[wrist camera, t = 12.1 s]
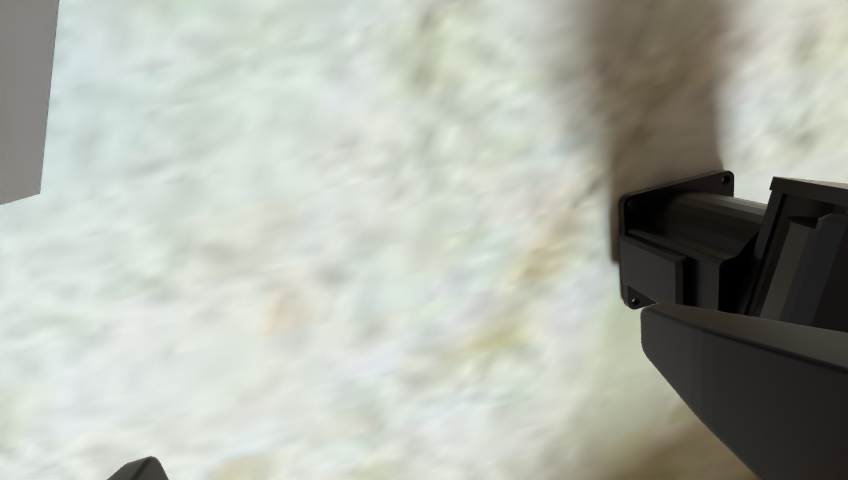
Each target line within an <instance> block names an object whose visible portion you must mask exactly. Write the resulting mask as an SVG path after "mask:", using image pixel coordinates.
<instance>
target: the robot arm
mask: <svg viewBox="0 0 848 480" xmlns="http://www.w3.org/2000/svg"><path fill="white" fill-rule="evenodd" d="M723 177H724V179H723ZM722 179H723V182H722ZM769 190H772V192H771V195H770V198H769V201H768V204H763V203H758V202H754V201H749V200H744V199H740V198H735V197H734V174H733V173H732V172H731V171H727V170H718V171H714V172H710V173H706V174H702V175H698V176H694V177H691V178H687V179H683V180H679V181H675V182H671V183H667V184H663V185H659V186H656V187H652V188H648V189H644V190H640V191H636V192H632V193H628V194H626V195H624V196H623V197H622V198H621V199H620V201H619V224H620V240H619V246H620V265H621V281H622V282H623V301H624V304H625V305H626V306H628V307H629V308H631V309H639V308H642V307H644V308H643V309H642V311H641V314H640V319H641V343H642V348H643V351H644V353H645V355H646V356H647V358H648V359H649V360H650V361H651V362H652V364H653V365H654V366H655V367H656V368H657V370H658V371H659V372H660V373H661V374H662V376H663V377H664V378H665V379H666V380H667V382H668V383H669V384H670V385H671V386H672V387H673V389H674V390H675V391H676V392H677V393H678V395H679V396H680V397H681V398H682V399H683V401H684V402H685V403H686V404H687V405H688V407H689V408H690V409H691V410H692V411H693V412H694V413H695V415H696V416H697V417H698V418H699V419H700V420H701V421H702V422H703V423H704V424H705V425H706V426H707V428H708V429H709V430H710V431H711V432H712V433H713V434H714V435H715V436H716V437H717V438H718V439H719V440H720V441H721V442H722V443H723V444H724V445H725V446H726V447H727V448H728V449H729V450H730V451H731V452H732V453H733V454H734V455H735V456H737V457H738V458H739V459H740V460H741V461H742V462H743V463H744V464H745V465H746V466H747V467H748V468H749V469H750V470H751V471H752V472H753V473H754V474H755V475H756V476H757V477H758V478H759V479H760V480H848V184H845V183H835V182H825V181H814V180H804V179H794V178H784V177H773V179H772V182H771V185H770V189H769ZM630 201H632V204H631V206H630V207H629V208H628V203H629V202H630ZM635 297H636V298H635ZM634 298H635V300H634V301H633V302H632V300H633V299H634ZM655 303H656V304H655ZM652 304H653V305H652ZM649 305H650V306H649ZM645 306H646V307H645ZM107 480H169V479H168V477H167V475H166V473H165V471H164V469H163V467H162V465H161V463H160V462H159V460H158V459H157V458H156V457H152V456H149V457H146V458H143V459H139V460H136V461H133V462H129V463H127V464H125V465H124V466H123V467H121V468H120V469H119V470H118V471H117V472H116V473H114V474H113V475H112V476H111V477H110V478H109V479H107Z"/></svg>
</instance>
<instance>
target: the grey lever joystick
mask: <svg viewBox="0 0 848 480" xmlns="http://www.w3.org/2000/svg"><path fill="white" fill-rule="evenodd" d="M58 5H59V0H0V205H2V204H5V203H9V202H12V201H16V200H19V199H23V198H26V197H30V196H33V195H37V194H40V186H41V176H42V166H43V156H44V146H45V136H46V126H47V116H48V106H49V96H50V85H51V75H52V65H53V55H54V45H55V35H56V25H57V15H58Z"/></svg>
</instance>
